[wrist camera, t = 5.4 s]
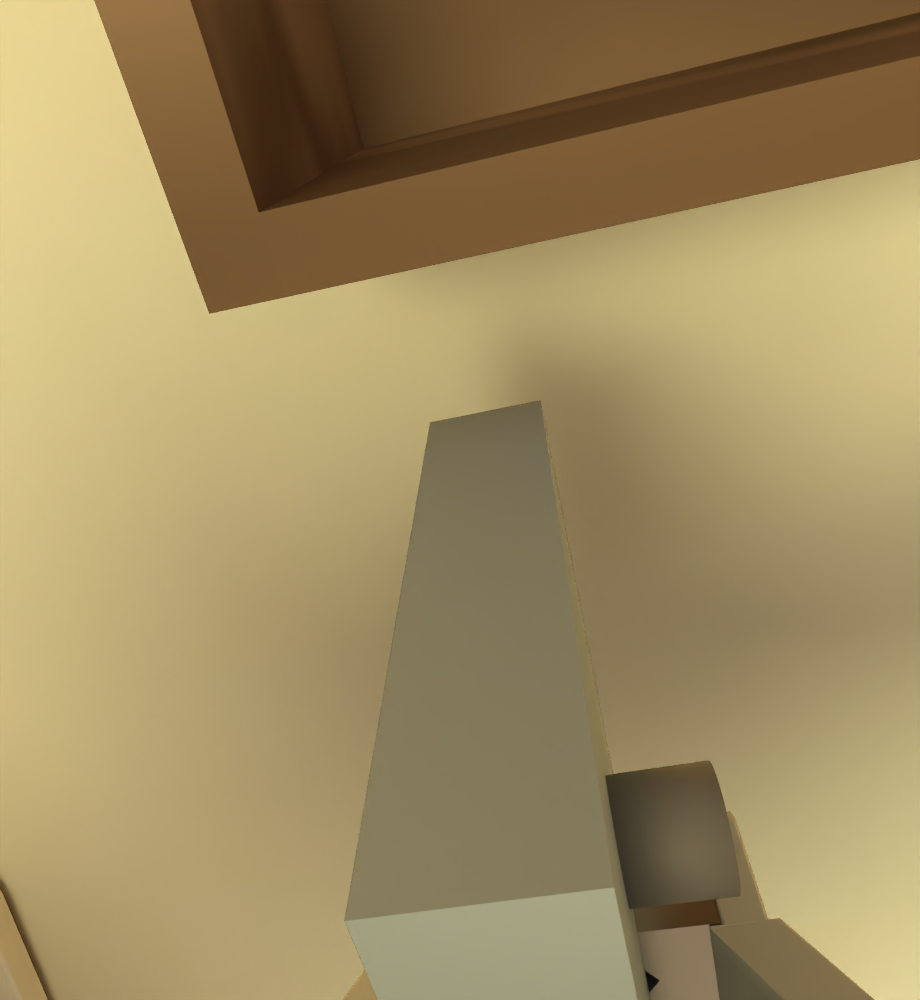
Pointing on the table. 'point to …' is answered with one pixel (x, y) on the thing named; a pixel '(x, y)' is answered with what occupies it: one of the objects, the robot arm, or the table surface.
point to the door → (511, 758)
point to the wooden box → (491, 120)
